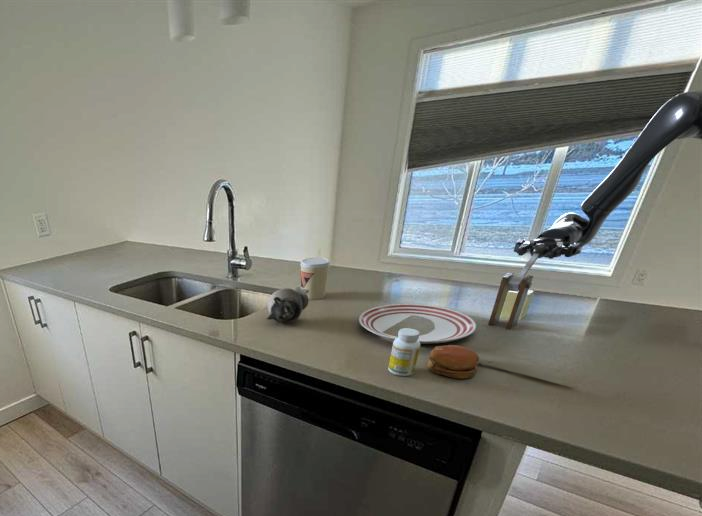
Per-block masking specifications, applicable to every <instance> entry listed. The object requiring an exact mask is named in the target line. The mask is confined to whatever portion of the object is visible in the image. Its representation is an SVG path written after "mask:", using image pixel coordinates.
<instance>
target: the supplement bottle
mask: <svg viewBox="0 0 702 516" xmlns="http://www.w3.org/2000/svg"><path fill="white" fill-rule="evenodd" d="M420 335H421V334H420V331H419V330H417V329H414V328H409V327H404V328H400V329H399V330H398V333H397V336H398V338H396V339H395V340H393V342H392V347H391V350H390V357H389V363H388V367H387V369H388V371H389V373H391V374H393V375H395V376H399V377H408V376H411V375H413V374H414V373H415V371H416V366H417V363H418V362H417V361H418V357H419V353H420V350H421V344H420V342H419V341H418V338H419V336H420Z"/></svg>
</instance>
